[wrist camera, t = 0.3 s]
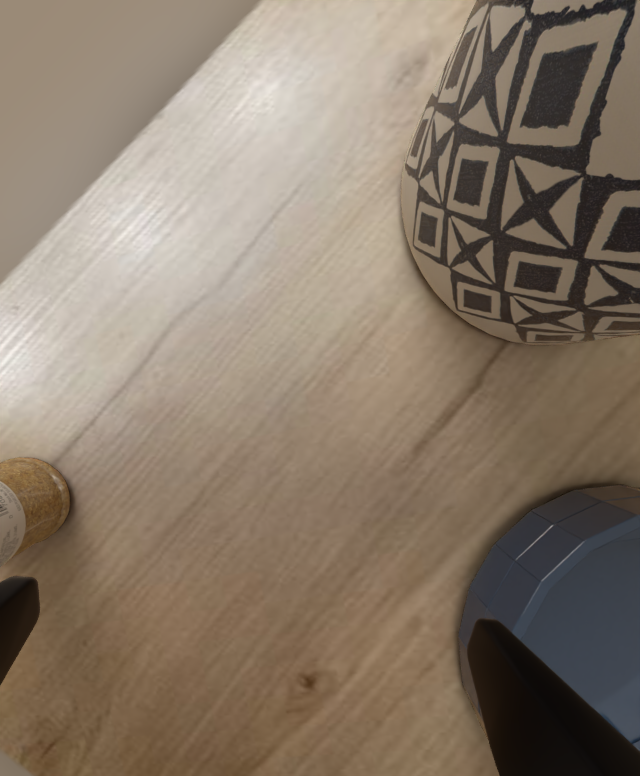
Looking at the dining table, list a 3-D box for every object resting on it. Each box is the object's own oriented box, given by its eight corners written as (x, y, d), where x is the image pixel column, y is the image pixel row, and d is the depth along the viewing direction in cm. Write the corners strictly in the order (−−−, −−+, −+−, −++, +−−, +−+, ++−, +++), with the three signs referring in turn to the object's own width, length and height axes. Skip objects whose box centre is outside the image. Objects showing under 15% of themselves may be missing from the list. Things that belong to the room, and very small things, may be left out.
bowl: (581, 832, 22) (656, 949, 17) (393, 626, 21) (420, 694, 16) (787, 632, 22) (910, 696, 18) (614, 421, 21) (699, 433, 17)
